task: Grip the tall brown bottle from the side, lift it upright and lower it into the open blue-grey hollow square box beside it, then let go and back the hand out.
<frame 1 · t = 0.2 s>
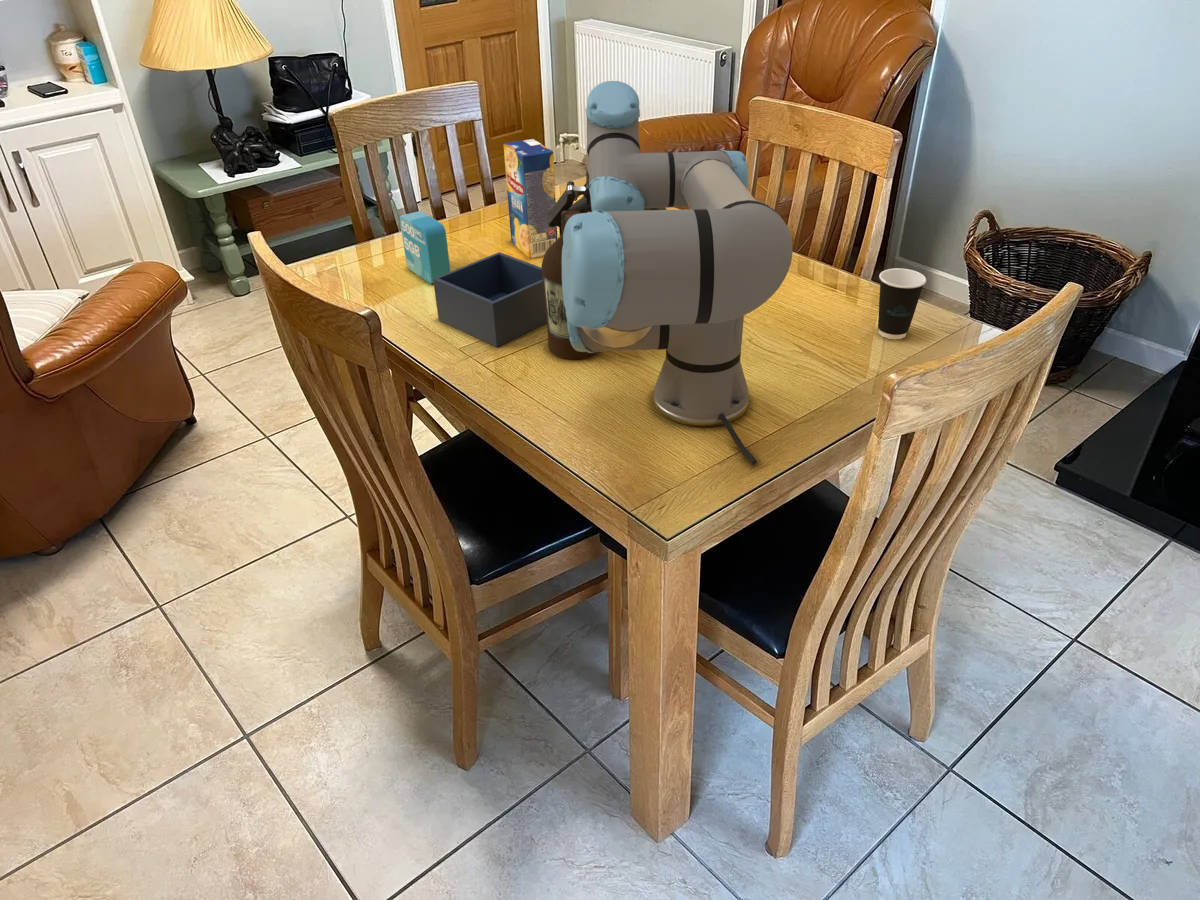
hand: (606, 244, 158), 16 cm above the table, tool tilted 35°, fingers open, 13 cm apart
cracker box: (534, 247, 199), on the table
brown bottle: (574, 348, 160), on the table, touching hand
blue-grey hollow square box: (499, 318, 170), on the table
dixie cup: (892, 334, 162), on the table
data package: (429, 275, 188), on the table
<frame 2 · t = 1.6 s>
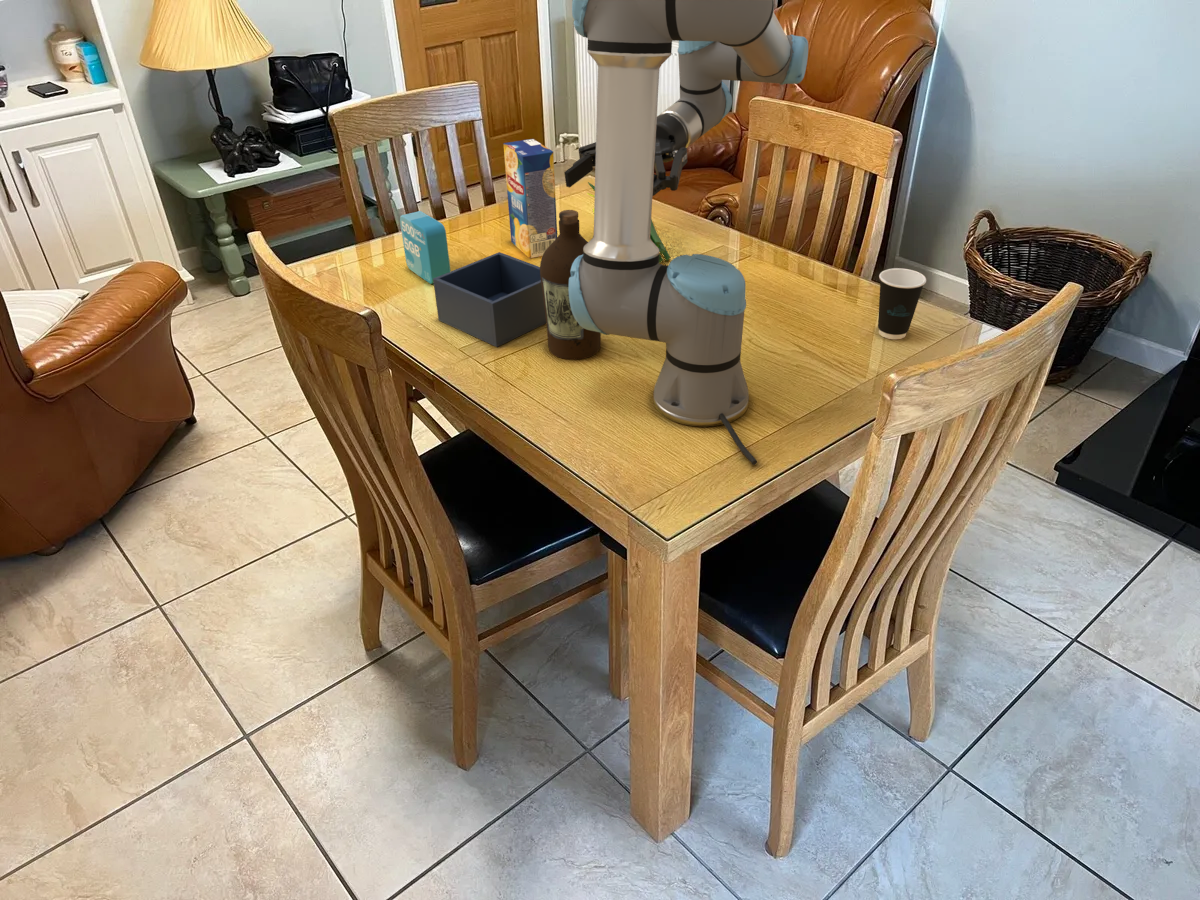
hand: (598, 190, 147), 27 cm above the table, tool horizontal, fingers open, 13 cm apart
brown bottle: (574, 348, 160), on the table
everything else where it was.
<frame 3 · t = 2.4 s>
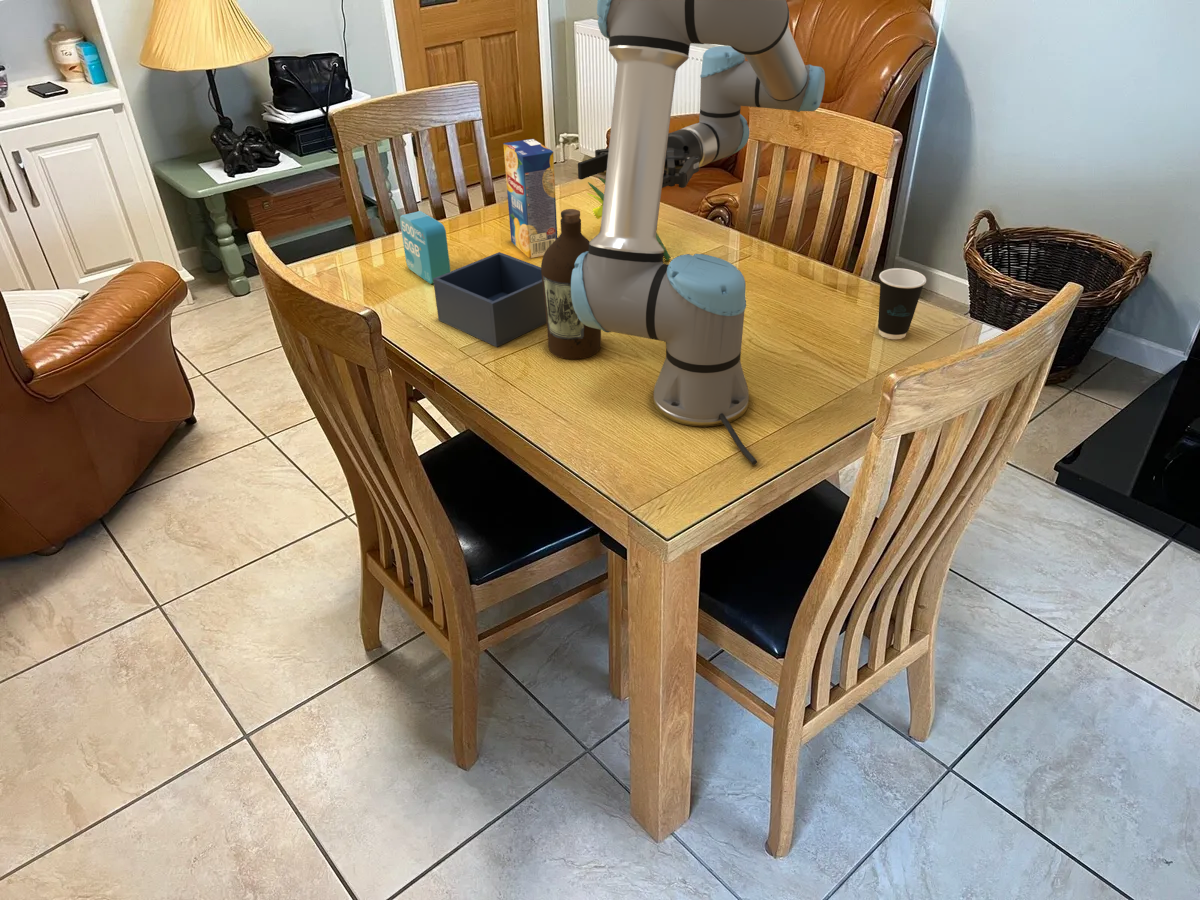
hand: (608, 179, 150), 28 cm above the table, tool horizontal, fingers open, 13 cm apart
nothing on the table moved.
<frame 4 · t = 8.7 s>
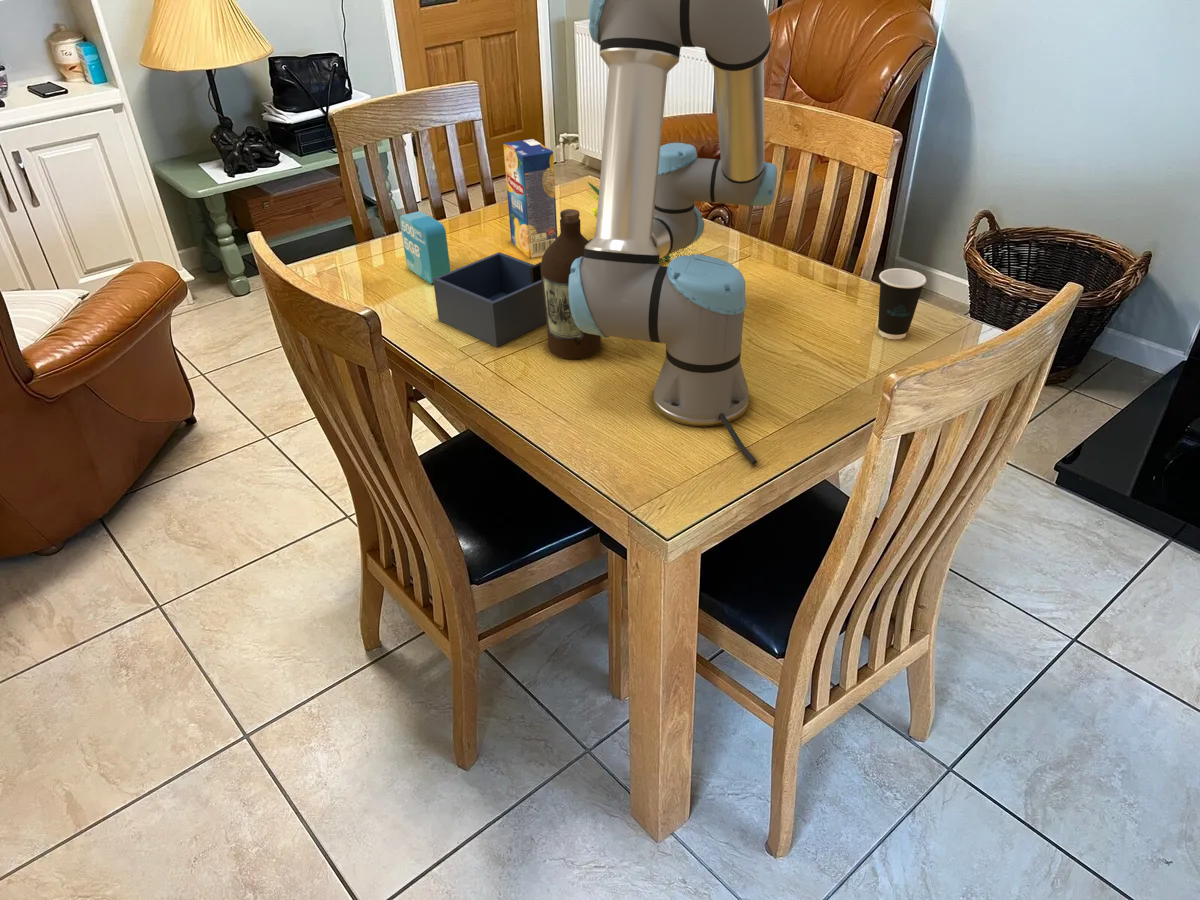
hand: (554, 283, 149), 14 cm above the table, tool horizontal, fingers closed on brown bottle, 11 cm apart
brown bottle: (574, 348, 160), on the table, touching gripper
everything else where it was.
when the fingers open (14 cm above the table, at t = 20.1 s): brown bottle stays where it is, resting on blue-grey hollow square box.
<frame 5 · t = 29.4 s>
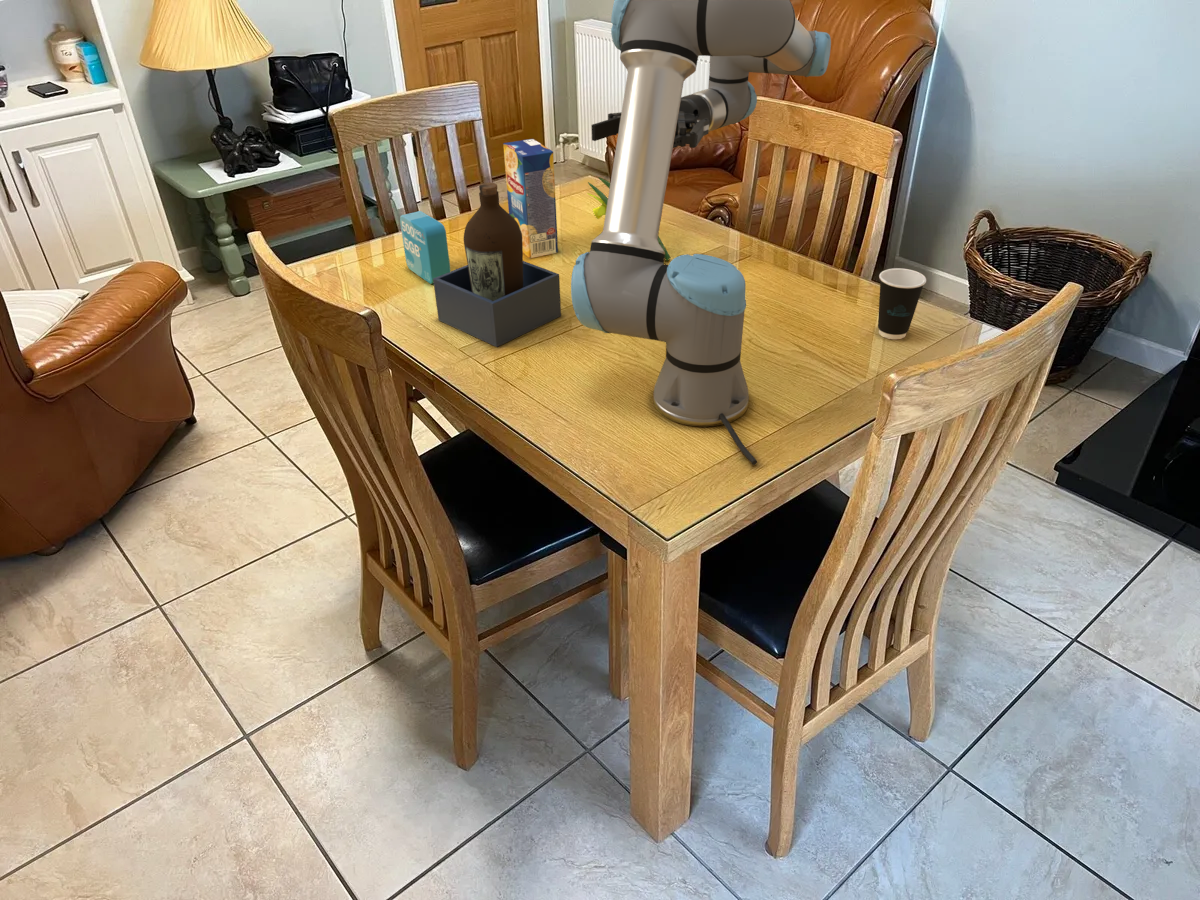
hand: (621, 139, 155), 32 cm above the table, tool horizontal, fingers open, 13 cm apart
brown bottle: (499, 315, 170), resting on blue-grey hollow square box
everything else where it was.
at the end: brown bottle inside the target area in the blue-grey hollow square box (0.2 cm from its centre), point 0.4 cm above the blue-grey hollow square box's base; brown bottle tilted 0°; the gripper is holding nothing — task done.
